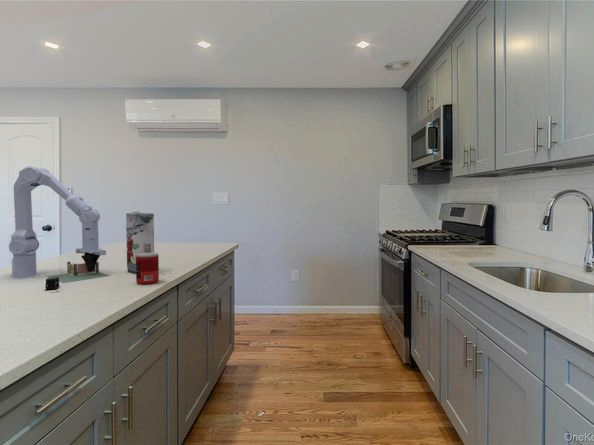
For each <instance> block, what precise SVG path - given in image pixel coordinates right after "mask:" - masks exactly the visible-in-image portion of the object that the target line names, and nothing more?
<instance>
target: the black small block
mask: <svg viewBox="0 0 594 445" xmlns="http://www.w3.org/2000/svg"><path fill="white" fill-rule="evenodd" d="M60 287H61V286H60V282H59V277H47V278H46V279H45V290H44V292H49V291H50V294H52V293H54V292H55V291H56V293H59V292H60V291H59V290H58V289H60ZM51 291H53V292H51Z"/></svg>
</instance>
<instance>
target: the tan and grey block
mask: <svg viewBox="0 0 594 445" xmlns="http://www.w3.org/2000/svg"><path fill="white" fill-rule="evenodd" d="M99 263H100V262H99V261H97V263H96V273H98V272H100V268H99V266H100V264H99ZM66 264H67V265H66V266H67V272H66V273H69V274H71V275H74V276H77V264H78V263H73V264H72V263H71V261H67V262H66Z"/></svg>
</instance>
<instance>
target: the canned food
mask: <svg viewBox="0 0 594 445" xmlns="http://www.w3.org/2000/svg"><path fill="white" fill-rule="evenodd" d="M159 257H160V256H159V253H157V252H154V253H139V254H136V274H135V277H136V278H135V280H136V285H140V286H145V285H146V286H148V285H154V284H157V283H158V282H159V280H160V278H159V277H160V275H159V274H160V272H159V271H160V269H159V268H160V266H159V264H160V263H159V262H160V261H159V260H160V259H159Z"/></svg>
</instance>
